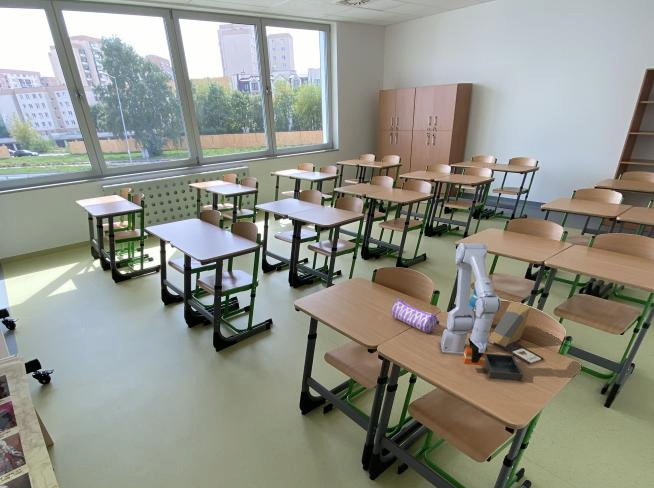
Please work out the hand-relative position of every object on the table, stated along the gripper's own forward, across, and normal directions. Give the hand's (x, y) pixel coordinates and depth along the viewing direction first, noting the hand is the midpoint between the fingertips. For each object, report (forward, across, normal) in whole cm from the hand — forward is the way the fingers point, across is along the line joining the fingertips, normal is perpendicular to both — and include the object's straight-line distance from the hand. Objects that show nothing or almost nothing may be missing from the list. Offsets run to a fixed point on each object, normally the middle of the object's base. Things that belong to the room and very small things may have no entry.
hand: (473, 359), depth 151 cm
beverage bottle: (+6, +38, -8) cm, 39 cm away
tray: (+6, +3, -12) cm, 14 cm away
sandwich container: (+6, +29, -20) cm, 35 cm away
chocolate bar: (+6, +19, -22) cm, 30 cm away
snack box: (+1, 0, 0) cm, 1 cm away
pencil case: (+6, +36, +20) cm, 42 cm away
